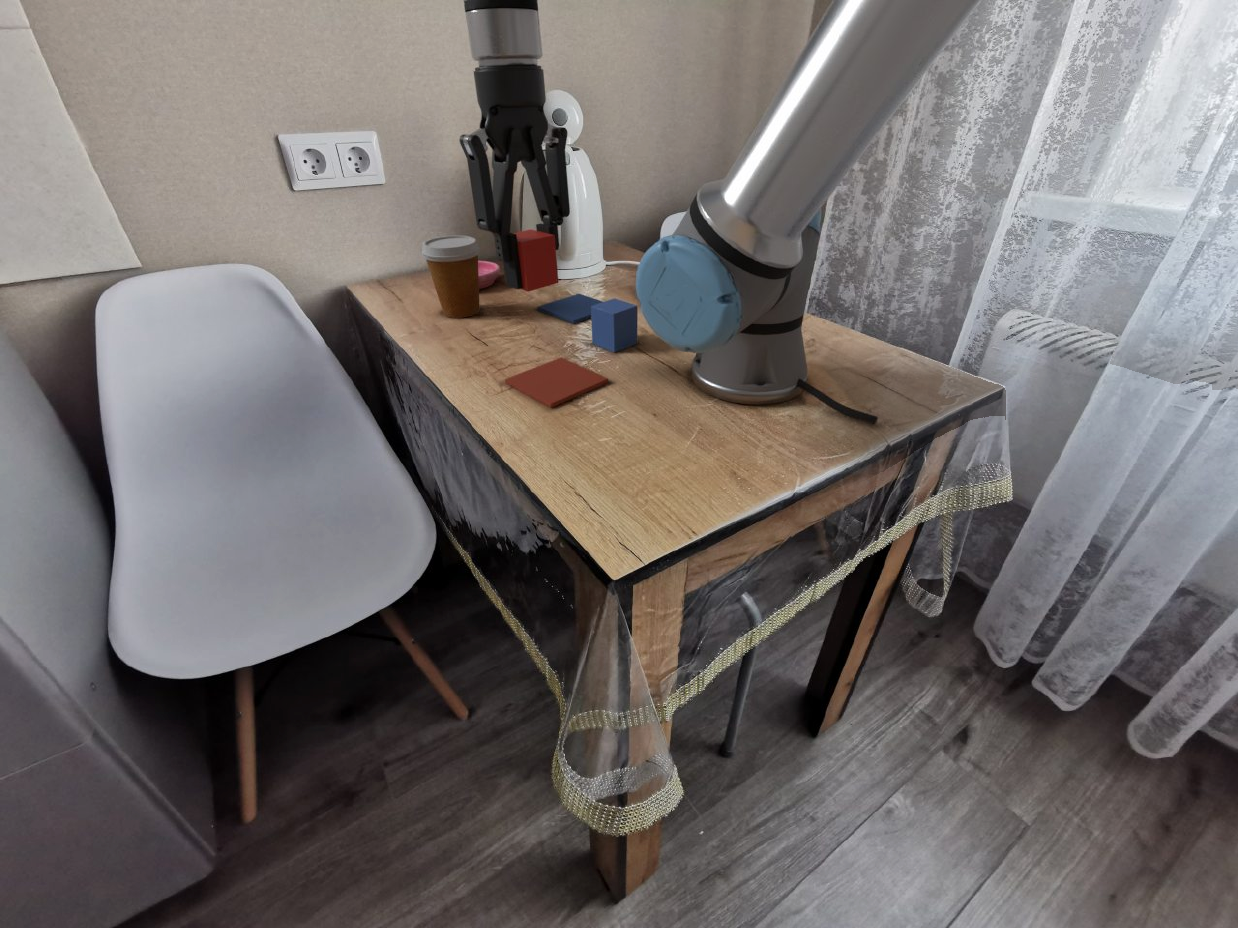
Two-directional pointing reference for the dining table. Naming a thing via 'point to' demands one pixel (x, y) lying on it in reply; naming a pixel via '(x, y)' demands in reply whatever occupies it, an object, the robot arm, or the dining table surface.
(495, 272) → the pink bowl
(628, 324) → the blue block
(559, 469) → the dining table surface
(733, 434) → the dining table surface
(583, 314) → the blue mat
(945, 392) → the dining table surface
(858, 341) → the dining table surface
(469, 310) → the disposable coffee cup
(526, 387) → the red mat
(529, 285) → the red block
